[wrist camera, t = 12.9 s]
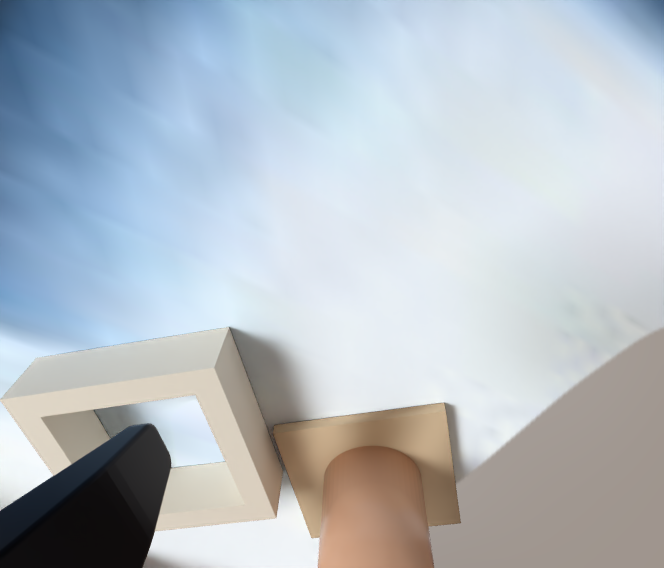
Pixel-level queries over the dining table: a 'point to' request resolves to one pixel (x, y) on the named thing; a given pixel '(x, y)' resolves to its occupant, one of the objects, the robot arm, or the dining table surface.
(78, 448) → the holder
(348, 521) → the jar
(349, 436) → the coaster
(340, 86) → the dining table surface
